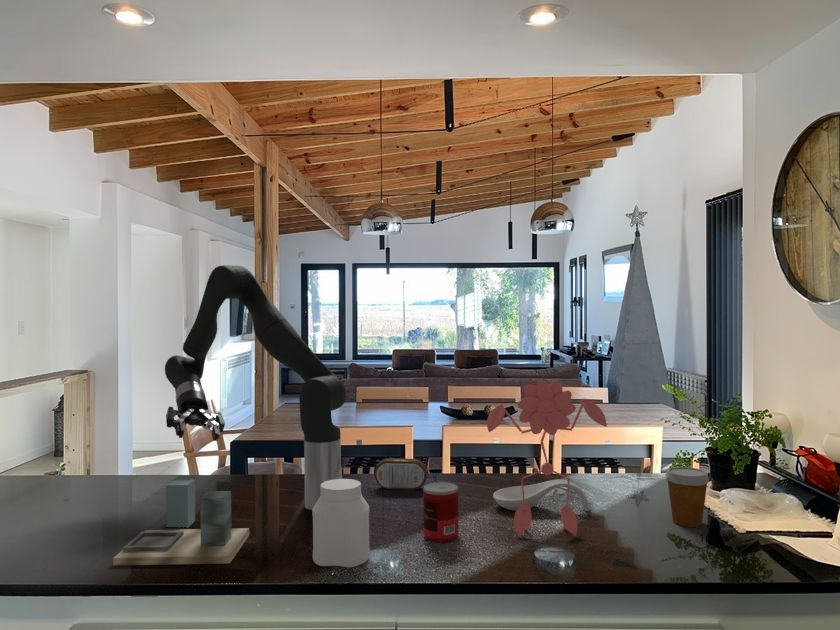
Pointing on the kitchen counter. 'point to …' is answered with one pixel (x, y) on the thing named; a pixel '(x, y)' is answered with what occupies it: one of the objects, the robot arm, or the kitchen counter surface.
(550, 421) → the figurine
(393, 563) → the kitchen counter surface
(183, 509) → the pillar
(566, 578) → the kitchen counter surface
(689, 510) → the disposable coffee cup
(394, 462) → the tin
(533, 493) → the spoon rest
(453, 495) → the canned food
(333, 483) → the jar
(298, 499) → the kitchen counter surface
